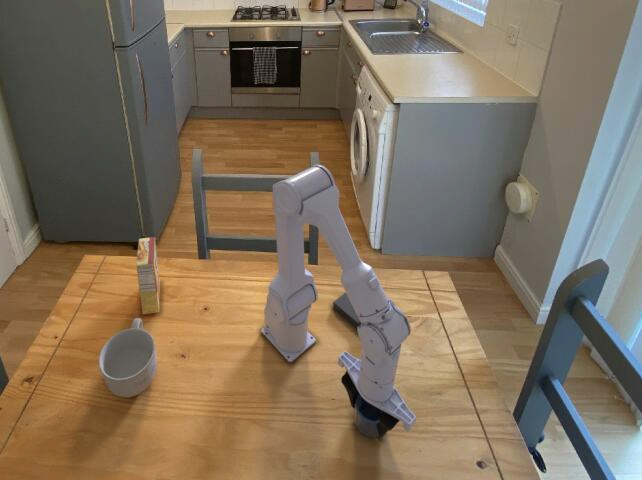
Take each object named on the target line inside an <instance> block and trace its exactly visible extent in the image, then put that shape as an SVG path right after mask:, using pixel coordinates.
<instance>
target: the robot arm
mask: <svg viewBox="0 0 642 480" xmlns="http://www.w3.org/2000/svg"><path fill="white" fill-rule="evenodd" d="M272 199H273V211H274V224H275V225H274V227H275V239H276V240H275V241H276V252H277V254H276V256H277V268H278V269H277V270H278V271H277V273H276V275H275V276H274V277H273V279H272V280H271V282H270V283H269V285H268V293H267V295H266V303H265V306H264V314H263V315H264V317H263V318H264V319H263V320H264V321H263V322H264V323H263V327H262V328H261V330H260V331H261V334H262V335H263V336H264V337H265V338H266V339H267V340H268V341H269V342H270V343H271V345H273V346H274V348H275V349H276V350H277V351H278V352H279V353H280V354H281V355H282V356H283V358H285V360H287V362H289V363H292V362H293V361H295V360H296V359H298V357H300V356H301V355H302V354H303V353H304V352H305V351H307V350H308V349H309V348H310V347H311V346H312V345H313V344H315V343H316V342H317V341H316V338H315V337H314V336H313V335H312V333H310V332H309V331H308V330H309V318H310V317H309V315H310V310H311V309H312V304H315V303H317V301H318V299H319V298H318V297H319V294H318V288H317V286H316V283H315V276H314V275H313V274H312V273H311V272H310V271H309V270H308V269H307V268H306V265H305V264H306V262H305V244H304V243H305V241H304V239H305V238H304V224H306V225H309V226H310V225H311V226H313V227H316V228H317V229H318V231H319V233H320V234H321V236H322V238H323V240H324V241H325V243H326V244H327V246H328V248H329V250H330V252H331V253H332V255H333V256H334V259H335V260H336V261H337V263H338V265H339V266H340V269H341V270H342V272H341V276H340V283H341V285H342V287H343V289H344V291H345V293H347V295H348V298H349V300H350V302H351V304H352V306H353V308H354V310H355V312H356V314H357V316H358V318H359V320H360V322H361V326H359V327H357V328H356V330H357V334H358V338H359V340H360V343H361V356H360V359H359V358H357V357H355V356H353V355H351V354H350V353H349V352H348V351H347V350H344V351H343V352H342V353H341V354H340V355H339V356H338V359H337V365H339V367H341V368H344V369H345V373H344V374H343V375H342V376H341V379H340V381H341V382H340V383H342V385H343V387H344V388H345V390H346V393H347V395H348V399H349V403H350V406H351V408H353V409H354V408H355V402H356V397H357V396H358V395H359V394H360V395H361V396H362V398H363V399H364V400H366V401H367V402H368V403H370V404H372V405H374V406H375V407H377V408H379V409H381V410H383V412H382V413H381V414H380V415H379V416H378V420H379V425H380V426H379V431H378V434H379V435H380V436H379V437H381V438H383V437H384V436H385V435H386V434H387V432H388V431H391V430H393V429H394V428H395V427H396V426H397V424H398V423H400V422H401V423H402V428H403V429H404V430H405V431H406V432H408V433H409V432H410V431H411V429H412V428H413V427H414V426H415V425H416V422H417V421H416V420H417V415H415V414H414V413H413V411H411V409H410V407H409V406H408V405H407V404H406V402H405V400H404V399H403V396H401V394H400V392H399V391H398V390H397V388H396V387H395V385H394V384H395V380H396V375H397V371H398V364H399V359H400V354H401V349H402V344H403V343H404V342H405V341H406V340H407V339H408V337H409V336H410V335H411V331H412V330H411V325H410V322H409V319H408V317H407V315H406V314H405V312H403V310H401V308H399V307H398V306H397V305H396V304H395V302H394V301H393V300H392V299H391V298H388V295H387V294H386V292H385V289H384V288H383V285H382V284H381V282H380V280H379V278H378V276H377V274H376V273H375V271H374V268H373V266H371V265H369V264H368V263H365V262H364V261H362V259H361V257H360V255H359V252H358V250H357V248H356V245H355V243H354V241H353V238H352V236H351V233H350V231H349V228H348V226H347V224H346V221H345V219H344V216H343V214H342V211H341V210H340V207H339V205H340V204H339V203H340V190H339V188H338V186H337V185H336V183H335V179H334V177H333V174H332V173H331V172H330V170H329V169H328V168H327V167H326V166H324V165H322V164H314V165H312V166H309V167H307V168H305V169H303V170H302V171H301V172H299V173H296V174H294V175H292V176H290V177H288V178H286V179H283V180H280V181H277V182H276V183H274V184H272Z"/></svg>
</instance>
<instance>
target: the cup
mask: <svg viewBox="0 0 642 480" xmlns="http://www.w3.org/2000/svg"><path fill="white" fill-rule="evenodd" d="M382 412H383V410H381V409H379V408H377V407H375V406H374V405H372V404H370V403H368V402H367V401H366V400H364V399H363V398H362V396H361V395H360V394H359V395H358V396H357V397H356V402H355V408H353V416H352V417H353V421H354V425H355V427H356V428H357V430H358V431H359V432H360V433H361V434H363V436H365V437H369V438H376V437H381V436H380V435H379V434H378V431H379V426H380V425H379V420H378V416H379V415H380V414H381V413H382Z"/></svg>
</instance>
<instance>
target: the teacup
mask: <svg viewBox="0 0 642 480" xmlns="http://www.w3.org/2000/svg"><path fill="white" fill-rule="evenodd" d="M98 368H99V370H100V372H101V374H102V378H103V381H104V382H105V385H106V387H107V389H108V390H109V391H110V392H111V393H112V394H113V395H114V396H116V397H120V398H130V397H131V398H132V397H134V396H137V395H140V394H141V393H142V392H144V391H145V390H146V389H147V388H148V387H150V385H151V384H152V382H153V380H154V378H155V377H156V373H157V370H158V355H157V350H156V342H155V339H154V337H153V335H152V334H151V333H150V332H149V331H148V330H145V329H143V320H142V319H141V318H140V317H139V318H137V317H136V318H134V319H133V320H132V323H131V328H126V329H123V330H121V331H118V332H117V333H115V334H113V335H112V336H111V337H110V338H109V339H108V340H107V341H106V342H105V344H104V345H103V346H102V348H101V350H100V353H99V356H98Z"/></svg>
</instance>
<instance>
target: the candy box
mask: <svg viewBox="0 0 642 480" xmlns="http://www.w3.org/2000/svg"><path fill="white" fill-rule="evenodd" d="M156 242H157V241H156V236H152V237H143V238H138V242H137V252H136V263H135V266H136V273H137V281H138V288H139V297H140V305H141V312H142V315H148V314H157V313H160V301H161V299H160V298H161V281H160V280H161V279H160V272H159V271H160V269H159V260H158V251H157V250H158V249H157V243H156Z"/></svg>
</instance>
